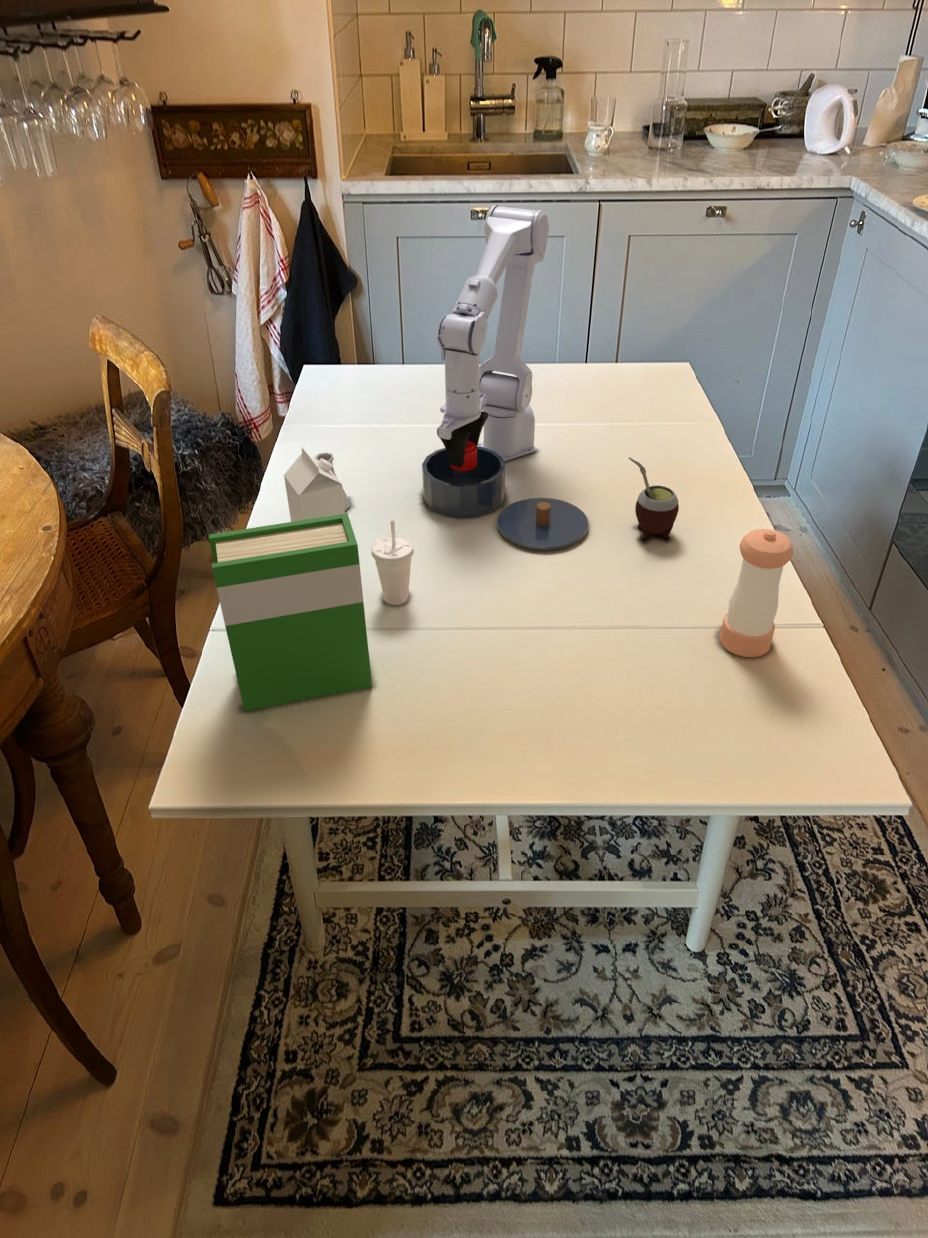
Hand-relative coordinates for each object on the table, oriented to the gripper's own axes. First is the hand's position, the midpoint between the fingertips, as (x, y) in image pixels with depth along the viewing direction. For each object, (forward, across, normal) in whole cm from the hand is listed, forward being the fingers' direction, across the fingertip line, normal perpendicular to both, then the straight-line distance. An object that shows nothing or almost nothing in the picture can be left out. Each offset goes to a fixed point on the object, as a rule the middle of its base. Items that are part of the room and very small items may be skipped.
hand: (463, 458), depth 165 cm
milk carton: (+8, +28, -12) cm, 31 cm away
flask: (+8, +13, -20) cm, 25 cm away
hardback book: (+8, +54, +2) cm, 55 cm away
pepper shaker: (+8, +19, +55) cm, 59 cm away
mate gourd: (+8, -2, +34) cm, 35 cm away
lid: (+7, +3, +17) cm, 19 cm away
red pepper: (+1, 0, 0) cm, 1 cm away
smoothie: (+8, +32, +4) cm, 33 cm away
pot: (+8, 0, 0) cm, 8 cm away
